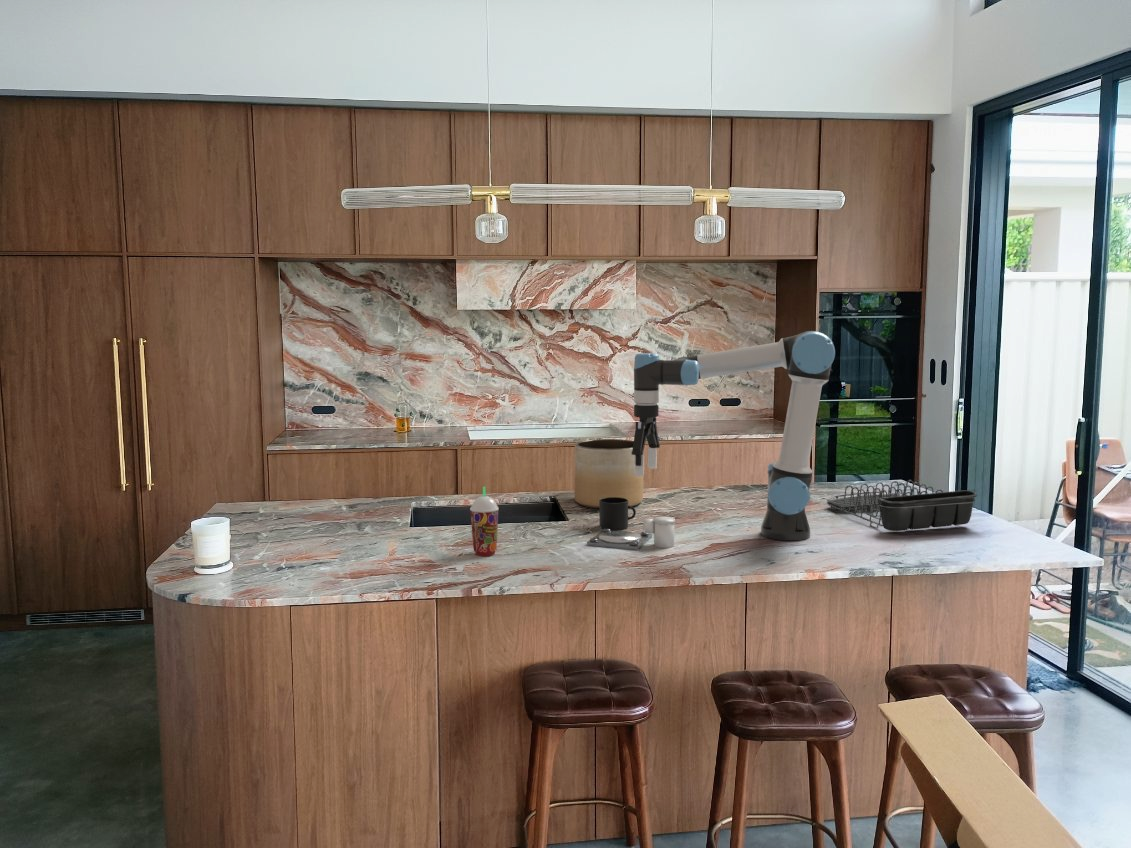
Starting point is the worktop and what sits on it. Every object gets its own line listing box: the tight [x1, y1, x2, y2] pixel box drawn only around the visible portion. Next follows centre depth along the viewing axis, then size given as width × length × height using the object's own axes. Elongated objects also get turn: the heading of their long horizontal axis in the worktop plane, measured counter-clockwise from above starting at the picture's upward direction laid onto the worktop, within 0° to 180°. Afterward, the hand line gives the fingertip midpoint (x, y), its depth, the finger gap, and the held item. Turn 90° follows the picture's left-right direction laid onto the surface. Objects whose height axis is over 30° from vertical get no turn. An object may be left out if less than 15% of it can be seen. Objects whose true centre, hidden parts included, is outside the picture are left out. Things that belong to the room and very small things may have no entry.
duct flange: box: [586, 528, 653, 551], centre depth 275 cm, size 16×16×2 cm
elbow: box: [642, 516, 676, 549], centre depth 270 cm, size 9×7×8 cm
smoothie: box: [469, 486, 500, 557], centre depth 260 cm, size 8×8×20 cm
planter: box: [573, 438, 644, 510], centre depth 328 cm, size 25×25×22 cm
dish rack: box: [826, 479, 978, 532], centre depth 303 cm, size 34×44×12 cm
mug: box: [598, 497, 637, 531], centre depth 292 cm, size 9×12×9 cm
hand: (645, 472), depth 275 cm, fingers open, 13 cm apart
